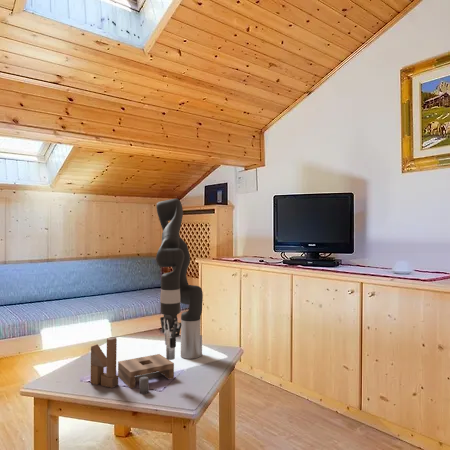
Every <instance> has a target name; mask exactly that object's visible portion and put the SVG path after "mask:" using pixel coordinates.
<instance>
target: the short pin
mask: <svg viewBox="0 0 450 450" xmlns="http://www.w3.org/2000/svg"><path fill="white" fill-rule="evenodd" d="M149 379H150V378H149V377H148V376H141V377H139V394H142V395H146V394H148V393H149Z"/></svg>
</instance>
